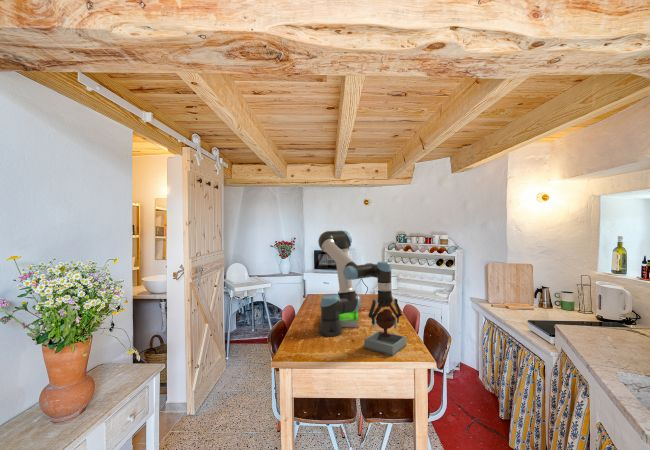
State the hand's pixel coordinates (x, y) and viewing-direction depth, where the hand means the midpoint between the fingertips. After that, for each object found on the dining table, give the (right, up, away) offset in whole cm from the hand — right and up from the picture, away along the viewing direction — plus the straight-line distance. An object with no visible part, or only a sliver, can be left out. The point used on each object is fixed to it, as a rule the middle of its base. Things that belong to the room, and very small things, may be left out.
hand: (385, 329), depth 172 cm
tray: (-22, -11, +47) cm, 53 cm away
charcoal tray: (0, -10, 0) cm, 10 cm away
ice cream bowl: (0, -4, 0) cm, 4 cm away
